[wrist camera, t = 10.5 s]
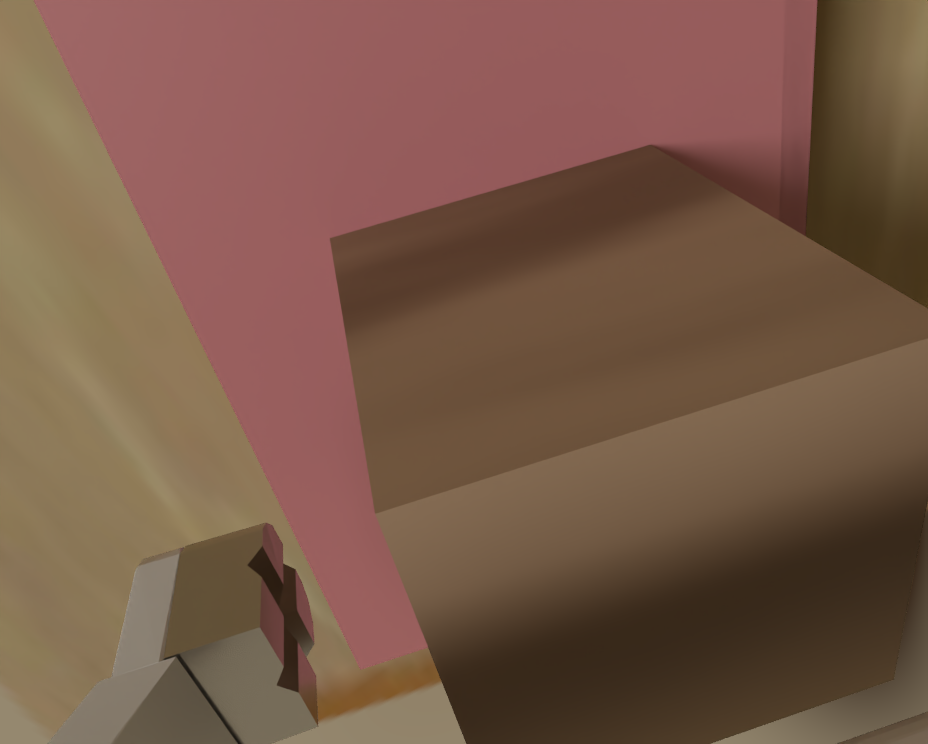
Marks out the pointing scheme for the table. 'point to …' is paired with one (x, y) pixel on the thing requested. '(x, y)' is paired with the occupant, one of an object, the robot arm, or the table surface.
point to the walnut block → (637, 453)
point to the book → (396, 180)
